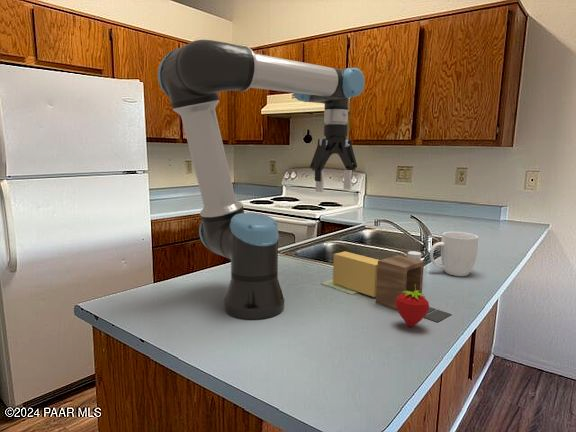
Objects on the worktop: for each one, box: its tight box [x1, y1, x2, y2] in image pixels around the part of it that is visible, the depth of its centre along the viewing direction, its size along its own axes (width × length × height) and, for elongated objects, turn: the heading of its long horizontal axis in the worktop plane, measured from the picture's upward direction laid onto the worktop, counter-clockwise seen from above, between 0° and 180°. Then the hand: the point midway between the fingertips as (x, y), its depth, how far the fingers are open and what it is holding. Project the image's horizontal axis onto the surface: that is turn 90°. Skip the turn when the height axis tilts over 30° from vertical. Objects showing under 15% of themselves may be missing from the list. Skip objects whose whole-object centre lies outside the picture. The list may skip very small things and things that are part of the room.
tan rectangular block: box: [332, 250, 380, 298], centre depth 115 cm, size 5×15×9 cm, turn 42°
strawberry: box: [395, 284, 430, 328], centre depth 91 cm, size 6×8×10 cm
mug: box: [429, 231, 479, 277], centre depth 131 cm, size 15×11×13 cm
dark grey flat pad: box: [423, 306, 452, 323], centre depth 99 cm, size 7×8×1 cm
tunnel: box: [375, 254, 425, 311], centre depth 105 cm, size 9×8×12 cm
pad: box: [320, 278, 359, 295], centre depth 119 cm, size 9×12×1 cm
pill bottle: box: [406, 250, 423, 261], centre depth 121 cm, size 6×5×10 cm
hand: (333, 190), depth 131 cm, fingers open, 13 cm apart
